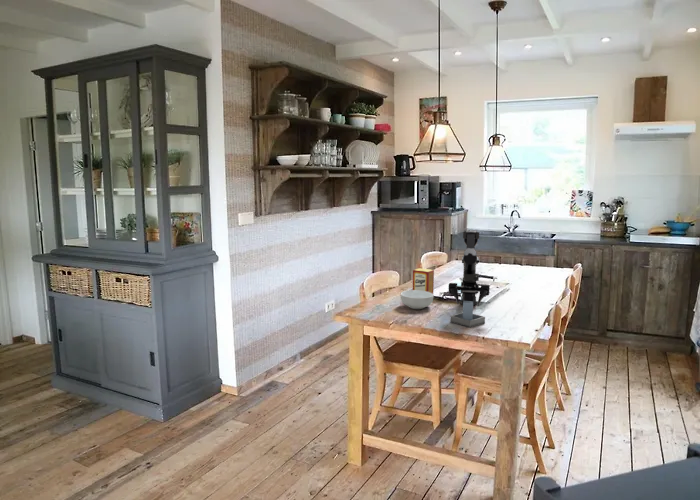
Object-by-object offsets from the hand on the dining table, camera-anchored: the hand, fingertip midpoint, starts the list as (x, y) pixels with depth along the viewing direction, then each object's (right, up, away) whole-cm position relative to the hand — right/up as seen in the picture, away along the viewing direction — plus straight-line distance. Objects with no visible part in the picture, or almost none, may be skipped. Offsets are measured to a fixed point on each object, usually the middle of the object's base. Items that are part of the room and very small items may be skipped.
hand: (468, 304), depth 244 cm
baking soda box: (-14, -1, +49) cm, 51 cm away
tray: (0, -9, +3) cm, 9 cm away
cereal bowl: (-20, -4, +30) cm, 36 cm away
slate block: (0, -8, +3) cm, 8 cm away
